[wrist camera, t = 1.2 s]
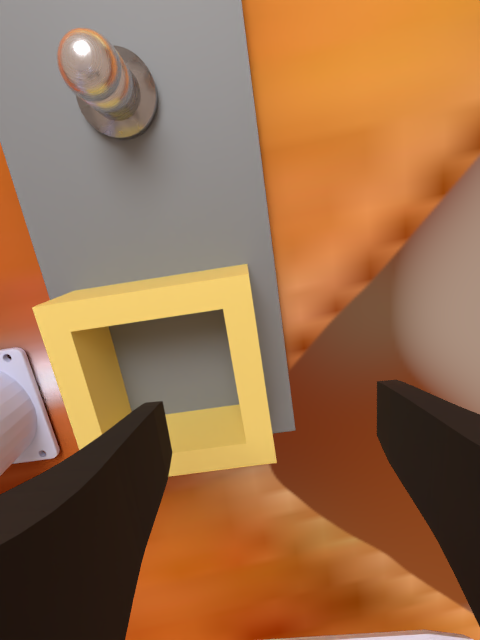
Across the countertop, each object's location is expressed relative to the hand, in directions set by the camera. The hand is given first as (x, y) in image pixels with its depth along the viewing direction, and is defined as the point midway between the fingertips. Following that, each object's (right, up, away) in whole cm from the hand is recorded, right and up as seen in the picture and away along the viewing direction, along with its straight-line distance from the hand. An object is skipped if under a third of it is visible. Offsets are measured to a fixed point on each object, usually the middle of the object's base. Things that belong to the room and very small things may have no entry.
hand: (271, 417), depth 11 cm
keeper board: (-6, +8, +8) cm, 13 cm away
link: (-5, +1, +9) cm, 10 cm away
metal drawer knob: (-7, +14, +5) cm, 17 cm away
